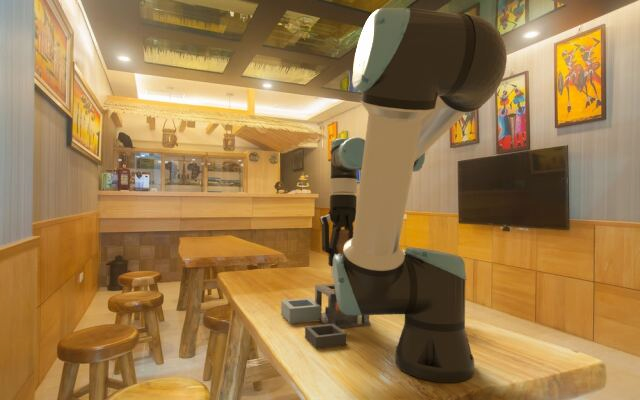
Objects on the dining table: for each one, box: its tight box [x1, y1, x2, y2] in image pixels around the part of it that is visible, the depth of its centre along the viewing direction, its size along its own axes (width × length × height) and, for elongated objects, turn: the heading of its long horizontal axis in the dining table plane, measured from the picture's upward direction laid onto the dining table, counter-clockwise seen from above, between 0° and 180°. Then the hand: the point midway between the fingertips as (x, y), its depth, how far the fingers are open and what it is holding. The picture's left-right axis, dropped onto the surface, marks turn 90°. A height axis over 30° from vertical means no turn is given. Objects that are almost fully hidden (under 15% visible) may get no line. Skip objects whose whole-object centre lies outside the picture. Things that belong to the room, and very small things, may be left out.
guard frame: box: [314, 283, 371, 329], centre depth 100 cm, size 12×12×9 cm
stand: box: [304, 324, 348, 349], centre depth 84 cm, size 8×8×2 cm
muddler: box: [333, 228, 350, 302], centre depth 100 cm, size 4×4×20 cm
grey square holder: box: [280, 297, 322, 324], centre depth 101 cm, size 9×9×4 cm
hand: (341, 277), depth 100 cm, fingers closed on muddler, 4 cm apart
